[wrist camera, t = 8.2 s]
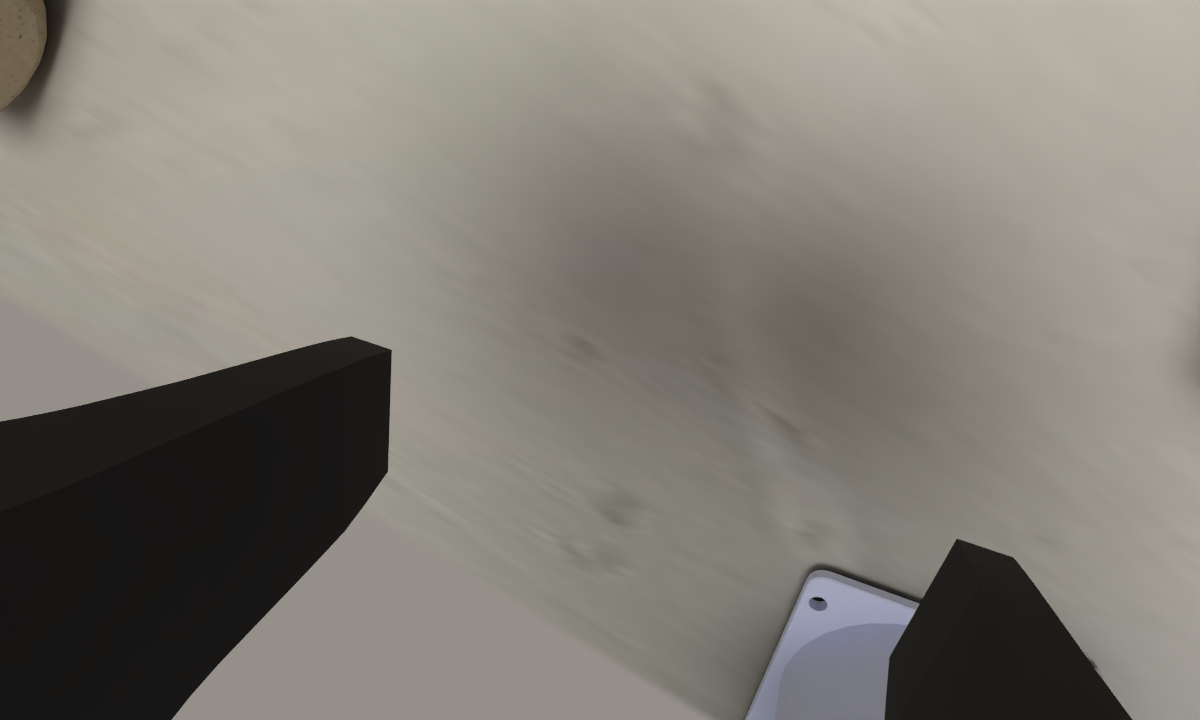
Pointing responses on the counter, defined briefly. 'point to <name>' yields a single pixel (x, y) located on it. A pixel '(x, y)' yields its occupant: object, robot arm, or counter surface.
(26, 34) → the ceramic mug
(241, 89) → the counter surface
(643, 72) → the counter surface
